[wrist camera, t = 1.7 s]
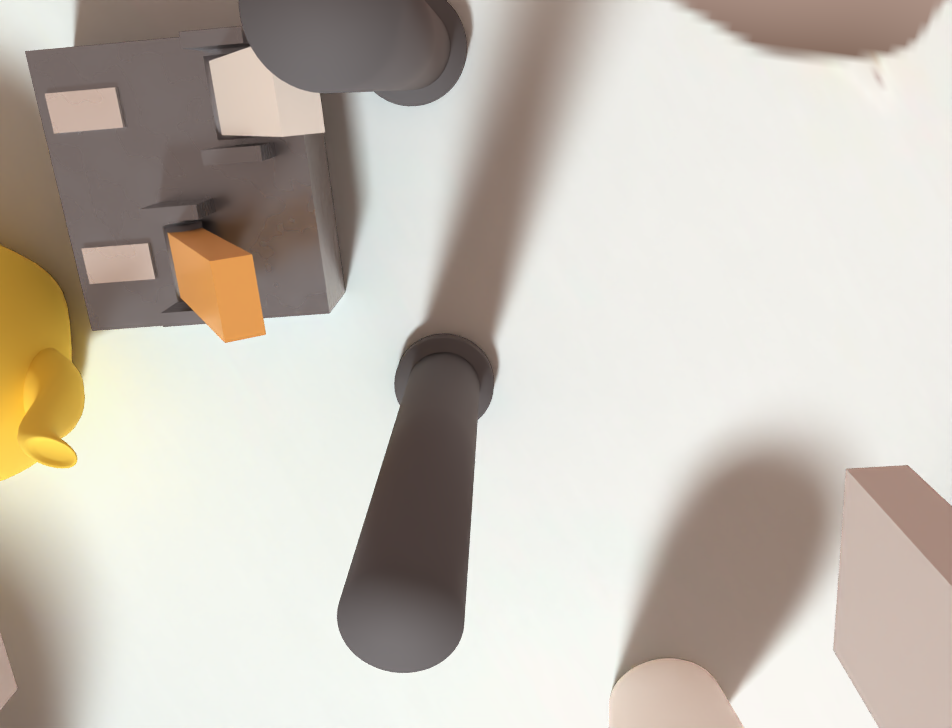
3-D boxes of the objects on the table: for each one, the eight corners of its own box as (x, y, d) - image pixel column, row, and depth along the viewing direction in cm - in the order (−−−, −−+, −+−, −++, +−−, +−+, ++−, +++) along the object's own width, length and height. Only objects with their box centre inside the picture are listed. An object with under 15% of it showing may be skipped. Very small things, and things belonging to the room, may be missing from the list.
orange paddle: (174, 297, 36) (222, 348, 28) (159, 225, 35) (205, 255, 27) (211, 291, 37) (269, 339, 29) (197, 219, 36) (254, 247, 28)
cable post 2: (401, 428, 43) (325, 696, 24) (391, 337, 42) (300, 547, 23) (497, 422, 43) (495, 688, 24) (489, 330, 41) (481, 537, 22)
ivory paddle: (214, 139, 34) (280, 143, 26) (199, 58, 33) (263, 33, 25) (252, 136, 35) (329, 138, 26) (239, 55, 34) (314, 31, 25)
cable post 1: (363, 110, 38) (229, 133, 19) (349, -8, 36) (187, -109, 18) (471, 100, 38) (443, 115, 19) (461, -18, 36) (420, -133, 17)
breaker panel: (129, 308, 41) (68, 345, 36) (72, 54, 38) (-6, 48, 32) (345, 292, 41) (319, 326, 35) (309, 33, 37) (274, 23, 31)
